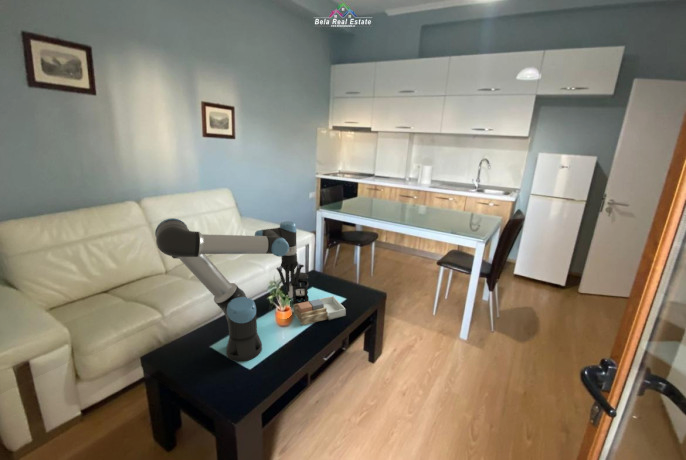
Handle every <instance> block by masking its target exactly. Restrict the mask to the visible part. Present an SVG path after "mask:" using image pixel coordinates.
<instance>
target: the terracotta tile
mask: <svg viewBox="0 0 686 460" xmlns="http://www.w3.org/2000/svg"><path fill="white" fill-rule="evenodd" d="M298 310H299V311H300V313H304V312H309V311H312V305H311V304H310V303H309V302H308V301H307V302H303V303H298Z"/></svg>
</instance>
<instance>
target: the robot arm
mask: <svg viewBox="0 0 686 460" xmlns="http://www.w3.org/2000/svg"><path fill="white" fill-rule="evenodd" d="M154 235H155V238H156V239H155V241H156V246H157V248H158V250H159V251H160V252H162V253H163V254H164V255H166V256H169V257H171V258H172V259H176V260H177V259H179V260H180V261H181V262H182V263H183V264H184V265H185V267H187V269H188V270H189V271H190V272H191V273H192V274H193V275H194V276H195V278H197V280H198V281H200V282H201V284H202V285H203V286H204V287H205V288H206V289H207V290H208V291H209V293H211V295H213V296H214V297H213V302H214V303H215V304H216V305H217V306H218V308H220V309H221V311H222V312H223V313H224V316H225V318H226V321H227V325H228V326H227V327H228V336H229V337H228V341H227V345H226V348H225V352H226V353H225V354H226V357H227V358H228V359H229V360H230V361H233V362H247V361H250V360H252V359H255V358H256V357H258V356H259V355H260V354H261V352H262V350H263V344H262V340H261V338H260V336H259V333H258V323H257V322H258V321H257V306H256V303H255V301H254V300H253V299H252V298H249V297H248V296H247V295H246V293H245V292H244V291H243V290H242V289H241V288H240V287H239V286H238V285H237V284H236V283H235V282H230V281H229V280H228V279H227V278H226V277H225V275H224V274H223V273H222V272H221V271H220V270H219V269H218V267H216V265H215V264H214V263H213V262H212V260H211V259H210V258H209V257H208V256H207V255H257V254H258V255H265V254H266V255H268V254H269V255H273V256H275V257H279V258H280V257H281V258H280V259H281V263H280V266H279V267H276V268H275V269H276V270H277V272H278V275H279V277H280V281H281V282H282V283H281V284H282V286H284V287H285V288H286V292H287V294H288V297H289V299H293V296H294V295H293V291H294V286H295V284H298V283H299V282H298V279H299V275H300V270H301V271H302V268H303V267H302V265H303V264H301V263H299V262H298V254H297V252H298V249H297V248H298V247H297V245H298V244H297V225H296V223H295V222H293V221H287V220H286V221H283V222H280V223H279V227H273V228H265V229H260V230H256V231H255V232H254V235H244V234H243V235H241V234H240V235H236V234H235V235H233V234H205V233H203V234H202V233H201V232H200V231H194V230H193V231H192V230H190V229H189V228H188V226H187V224H186V223H185V222H184V221H182V220H181V219H179V218H172V217H171V218H166V219H163V220H161V222H159V224H158V225H157V227H156V229H155V231H154ZM283 270H284V272H285V273H284V274H285V277H284V274H283ZM295 273H296V274H295ZM294 274H295V279H294Z"/></svg>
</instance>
